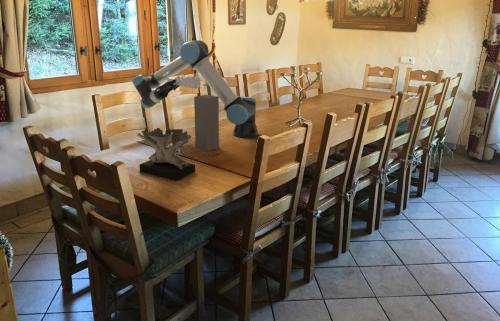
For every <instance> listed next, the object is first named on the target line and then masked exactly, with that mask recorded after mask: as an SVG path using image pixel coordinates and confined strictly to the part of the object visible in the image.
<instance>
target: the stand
mask: <svg viewBox="0 0 500 321" xmlns="http://www.w3.org/2000/svg"><path fill="white" fill-rule="evenodd" d="M193 97H194V98H193V100H194V101H193V102H194V104H193V105H194V107H193V108H194V141H195V142H194V146H195V149H197V150H198V149H199V150H202V151H205V152H209V151H213V150H215V149H218V148H220V141H219V140H220V131H219V130H220V127H219V126H220V124H219V123H220V117H219V116H220V115H219V114H220V112H219V110H220V109H219V108H220V107H219V106H220V105H219V102H220V99H219V97H217V95H210V94H202V95H196V96H193Z"/></svg>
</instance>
